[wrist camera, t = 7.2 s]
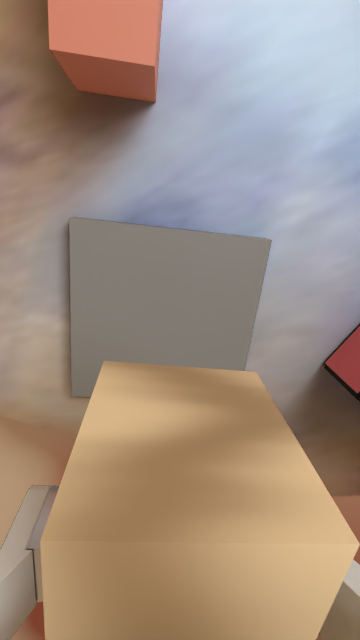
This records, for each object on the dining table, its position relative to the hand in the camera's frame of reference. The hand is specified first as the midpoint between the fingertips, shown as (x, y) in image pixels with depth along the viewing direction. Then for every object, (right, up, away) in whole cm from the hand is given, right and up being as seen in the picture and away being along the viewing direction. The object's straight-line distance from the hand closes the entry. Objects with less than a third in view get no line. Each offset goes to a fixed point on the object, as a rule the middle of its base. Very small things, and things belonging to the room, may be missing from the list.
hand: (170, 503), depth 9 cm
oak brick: (0, +1, +1) cm, 2 cm away
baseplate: (-1, +5, +14) cm, 15 cm away
